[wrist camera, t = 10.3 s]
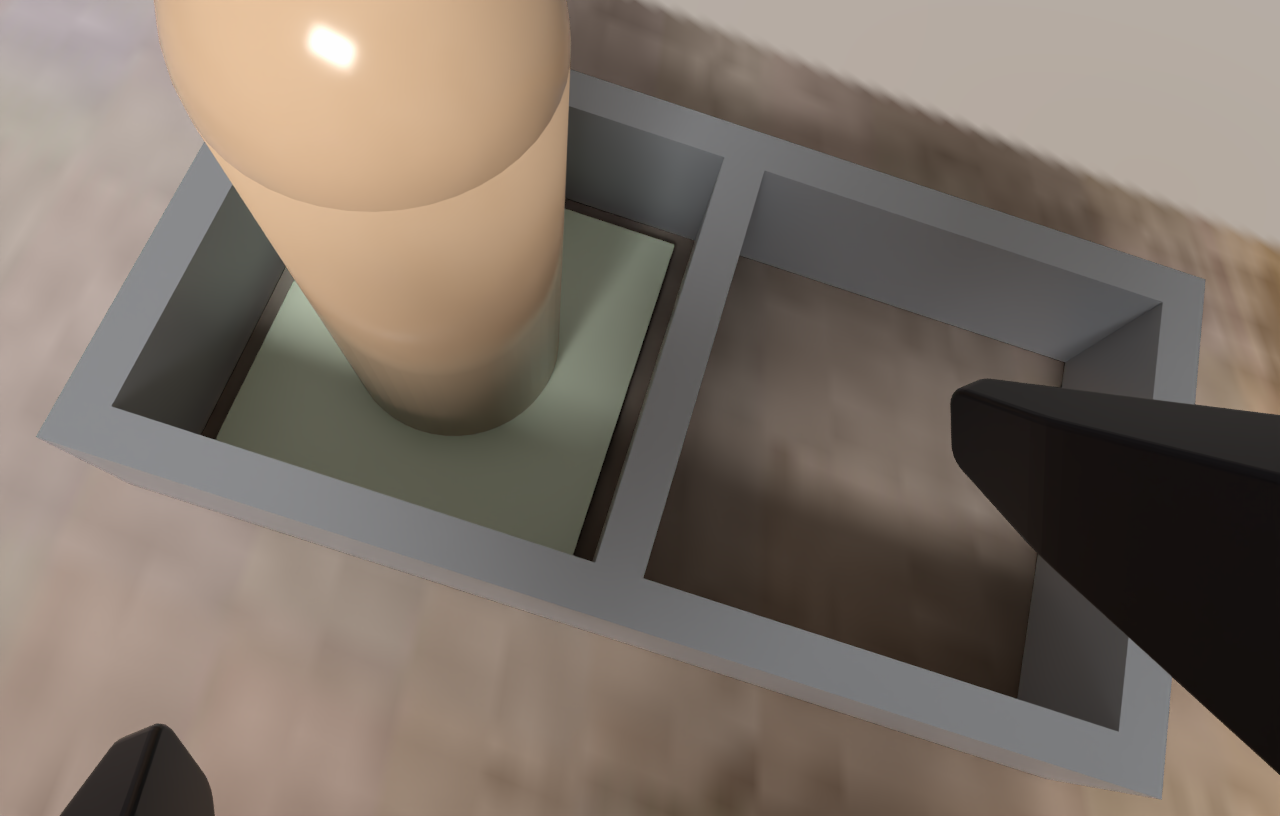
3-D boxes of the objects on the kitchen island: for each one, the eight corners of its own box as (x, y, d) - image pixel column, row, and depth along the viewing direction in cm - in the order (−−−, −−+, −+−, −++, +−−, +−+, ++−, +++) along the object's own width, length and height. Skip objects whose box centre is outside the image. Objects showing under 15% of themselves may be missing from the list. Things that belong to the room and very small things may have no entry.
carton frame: (1047, 779, 21) (1161, 799, 17) (129, 483, 20) (36, 437, 17) (1102, 342, 25) (1205, 279, 21) (334, 89, 24) (297, -22, 20)
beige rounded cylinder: (499, 471, 21) (425, 162, 8) (312, 378, 21) (-52, -70, 8) (593, 299, 23) (656, -189, 10) (418, 214, 23) (251, -378, 10)
